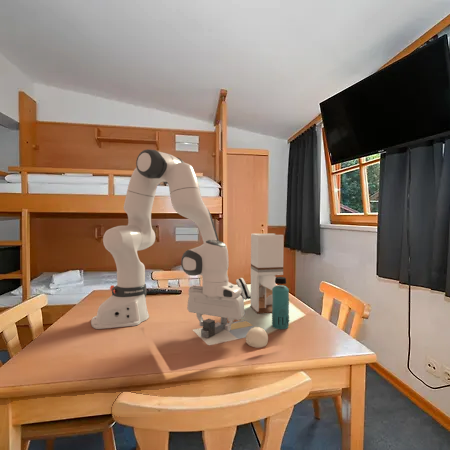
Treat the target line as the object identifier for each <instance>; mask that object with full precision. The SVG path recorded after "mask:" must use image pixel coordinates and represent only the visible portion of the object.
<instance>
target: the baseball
mask: <svg viewBox="0 0 450 450" xmlns="http://www.w3.org/2000/svg"><path fill="white" fill-rule="evenodd" d="M245 341H246V343H245V344H247V346H250V347H253V348H257V349H258V348H260V349H262V348H264V347H266V346H267V344H268V343H269V342H268V341H269V336H268V333H267V332H266V330H265V329H264V328H262V327H260V326H254V327H253V328H251V329H250V330H249V331H248V333H247V334H246V338H245Z"/></svg>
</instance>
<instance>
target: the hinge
mask: <svg viewBox="0 0 450 450" xmlns="http://www.w3.org/2000/svg"><path fill="white" fill-rule="evenodd" d="M235 282H236V286H238V287H240V288H241V289H242V293H241V294H240V295H241V296H242V298H243V300H244V299H247V298H251V290H249V287H248V285H247V283H246V281H245V279H244V278H243V277H239V278H237V279H236V280H235Z"/></svg>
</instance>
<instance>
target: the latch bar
mask: <svg viewBox="0 0 450 450" xmlns="http://www.w3.org/2000/svg"><path fill="white" fill-rule="evenodd" d="M203 320H204V321H203V326H202V328H203V329H201V337H204V338H209V337H211V336H213V335H215V334H217V333H219V332H221V331H223V323H221V322H218V321H217V322H216V320H214V319H211V318H207V319H203Z"/></svg>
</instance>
